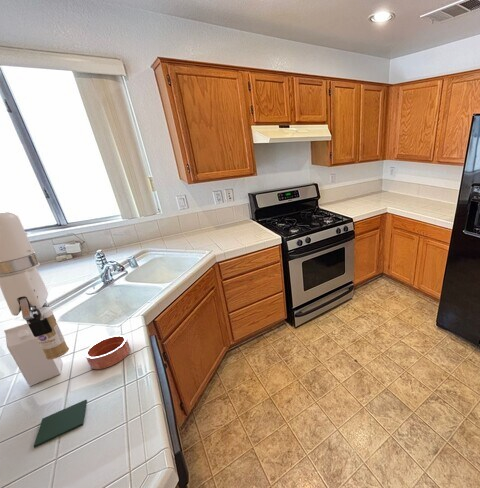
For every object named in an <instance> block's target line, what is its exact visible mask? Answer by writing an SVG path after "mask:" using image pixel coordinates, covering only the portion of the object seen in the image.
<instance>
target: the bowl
mask: <svg viewBox="0 0 480 488" xmlns="http://www.w3.org/2000/svg"><path fill="white" fill-rule="evenodd" d="M130 352H131V346H130V343H129V340H128V338H127V337H126V336H125V335H123V334H119V335H118V334H115V335H112V336H108V337H105V338H103V339H100V340H99V341H97V342H95V343H94V344H92V345H91V346H89V347H88V348H87V350H86V351H85V353H84V357H85V359H86V361H87V363H88V365H89V367H90V368H91V369H92V370H101V369H102V370H103V369H105V368H109V367H112V366H114V365H116V364H117V363H120V362H121V361H122V360H124V359H125V358H126V357H127V356H128V355H129V354H130Z"/></svg>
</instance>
